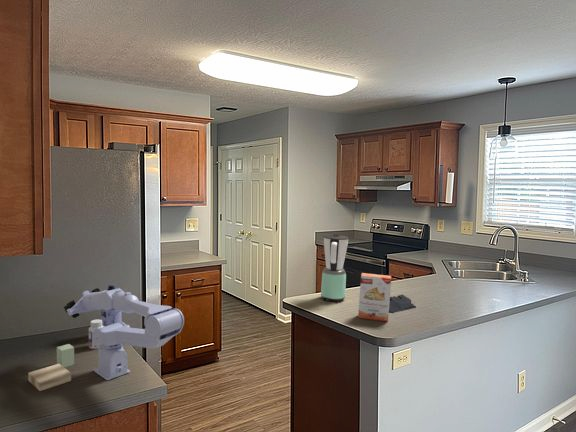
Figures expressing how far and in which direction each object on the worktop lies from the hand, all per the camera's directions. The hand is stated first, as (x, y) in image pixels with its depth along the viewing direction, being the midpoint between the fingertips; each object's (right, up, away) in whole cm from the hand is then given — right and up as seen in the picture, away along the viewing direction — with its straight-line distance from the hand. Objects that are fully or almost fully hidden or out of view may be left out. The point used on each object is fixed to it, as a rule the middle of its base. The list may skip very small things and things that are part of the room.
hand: (75, 304), depth 151 cm
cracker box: (+115, -18, +54) cm, 128 cm away
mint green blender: (+98, -14, +81) cm, 128 cm away
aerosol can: (+4, -17, +21) cm, 27 cm away
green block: (-1, -19, -6) cm, 20 cm away
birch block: (0, -21, -17) cm, 27 cm away
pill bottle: (+3, -18, +9) cm, 20 cm away
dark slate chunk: (+130, -17, +74) cm, 150 cm away
